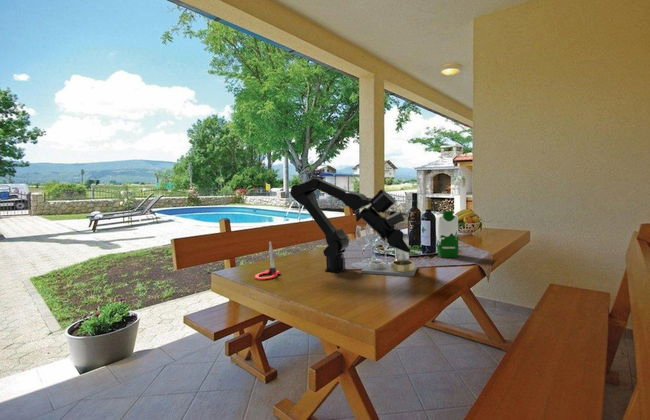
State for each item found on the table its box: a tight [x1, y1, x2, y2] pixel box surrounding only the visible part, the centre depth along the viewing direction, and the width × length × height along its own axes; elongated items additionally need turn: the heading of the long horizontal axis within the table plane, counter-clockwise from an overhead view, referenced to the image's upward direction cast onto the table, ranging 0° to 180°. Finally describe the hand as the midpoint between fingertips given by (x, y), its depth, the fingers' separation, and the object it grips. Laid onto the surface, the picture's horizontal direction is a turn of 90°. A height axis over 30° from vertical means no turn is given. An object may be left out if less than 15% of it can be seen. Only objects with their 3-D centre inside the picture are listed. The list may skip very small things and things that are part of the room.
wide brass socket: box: [390, 260, 415, 272], centre depth 121 cm, size 8×8×2 cm
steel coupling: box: [394, 233, 410, 265], centre depth 121 cm, size 5×5×13 cm
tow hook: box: [254, 241, 282, 281], centre depth 122 cm, size 8×13×9 cm
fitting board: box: [360, 263, 418, 277], centre depth 123 cm, size 19×11×1 cm, turn 67°
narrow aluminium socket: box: [367, 260, 385, 270], centre depth 125 cm, size 6×6×2 cm
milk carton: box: [435, 210, 459, 258], centre depth 143 cm, size 9×9×20 cm
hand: (405, 248), depth 121 cm, fingers open, 9 cm apart
